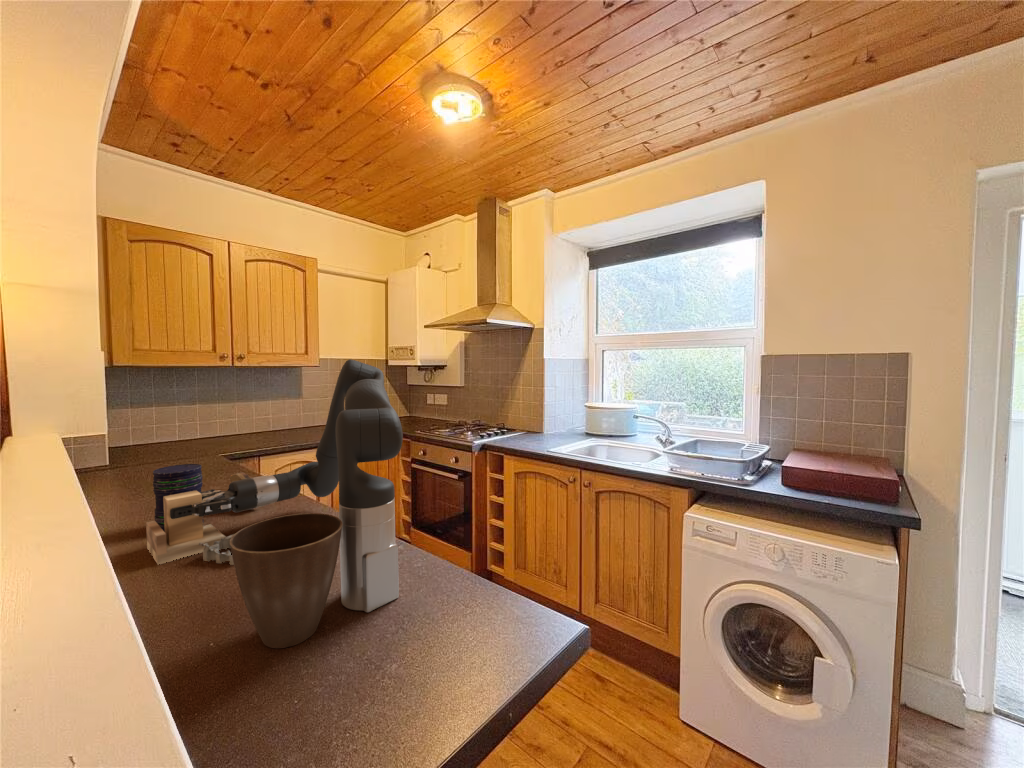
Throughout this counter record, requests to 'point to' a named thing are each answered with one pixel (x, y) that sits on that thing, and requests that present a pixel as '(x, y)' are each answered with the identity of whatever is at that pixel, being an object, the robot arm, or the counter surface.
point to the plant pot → (286, 573)
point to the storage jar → (174, 485)
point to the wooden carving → (239, 477)
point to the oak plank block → (182, 519)
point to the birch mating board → (170, 553)
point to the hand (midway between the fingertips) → (167, 511)
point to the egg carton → (213, 551)
